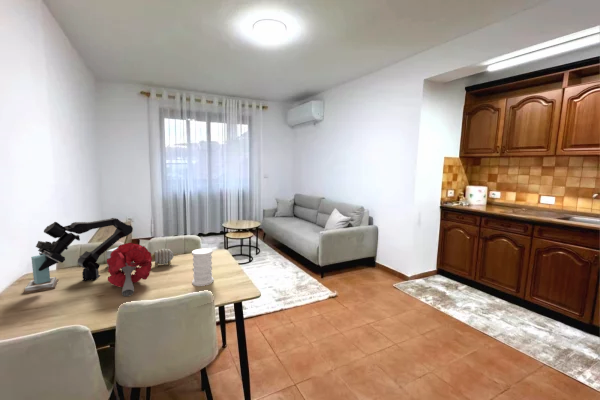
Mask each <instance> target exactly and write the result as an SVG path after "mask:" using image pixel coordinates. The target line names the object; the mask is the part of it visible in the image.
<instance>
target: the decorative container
mask: <svg viewBox="0 0 600 400" xmlns="http://www.w3.org/2000/svg"><path fill="white" fill-rule="evenodd" d="M212 254H213V249H212V248H205V247H204V248H202V247H201V248H198V249H197V248H196V249H194V250H192V251H191V255H192V256H193V257H192V266H193V269H192V271H193V274H192V275H193V279H191V280H192V281H191V283H192V285H193V286H195V287H204V286H205V285H206V286H209V285H211V284H213V283H214V281H215V280H214V277H213V272H212V270H213V267H212V264H213V262H212V259H213V257H212ZM212 282H213V283H212ZM210 283H211V284H210ZM206 286H205V287H206Z"/></svg>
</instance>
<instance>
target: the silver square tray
mask: <svg viewBox="0 0 600 400" xmlns="http://www.w3.org/2000/svg"><path fill="white" fill-rule="evenodd" d="M57 282H58V283H59V279H58V278H57V277H56V276H53V277H50V281H48V282H44V283H40V284H36V283H35V282H34V279H33V280H29V282H28V283H27V284H26V286H25V288H24V290H23V292H22V294H23V295H24V294H31V293H35V292H36V293H37V292H43V291H48V290H53V289H54V290H55V289H56V287H57V285H58V283H57Z"/></svg>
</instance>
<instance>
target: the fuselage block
mask: <svg viewBox="0 0 600 400" xmlns="http://www.w3.org/2000/svg"><path fill="white" fill-rule="evenodd" d="M45 256H47V255H45V254H43V255H40V254H39V255H35V256H33V255H32V256H31V267H32V277H33V280H34V282H35V283H36V284H40V283H44V282H48V281H50V278H51V273H50V272H51V271H50V267H48V268H46V269H44V270H42V271H39V270H38V269H39V268H40V267H41V265H42V264H43V263H44V261H45V260H46V258H45ZM47 257H48V256H47Z"/></svg>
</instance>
